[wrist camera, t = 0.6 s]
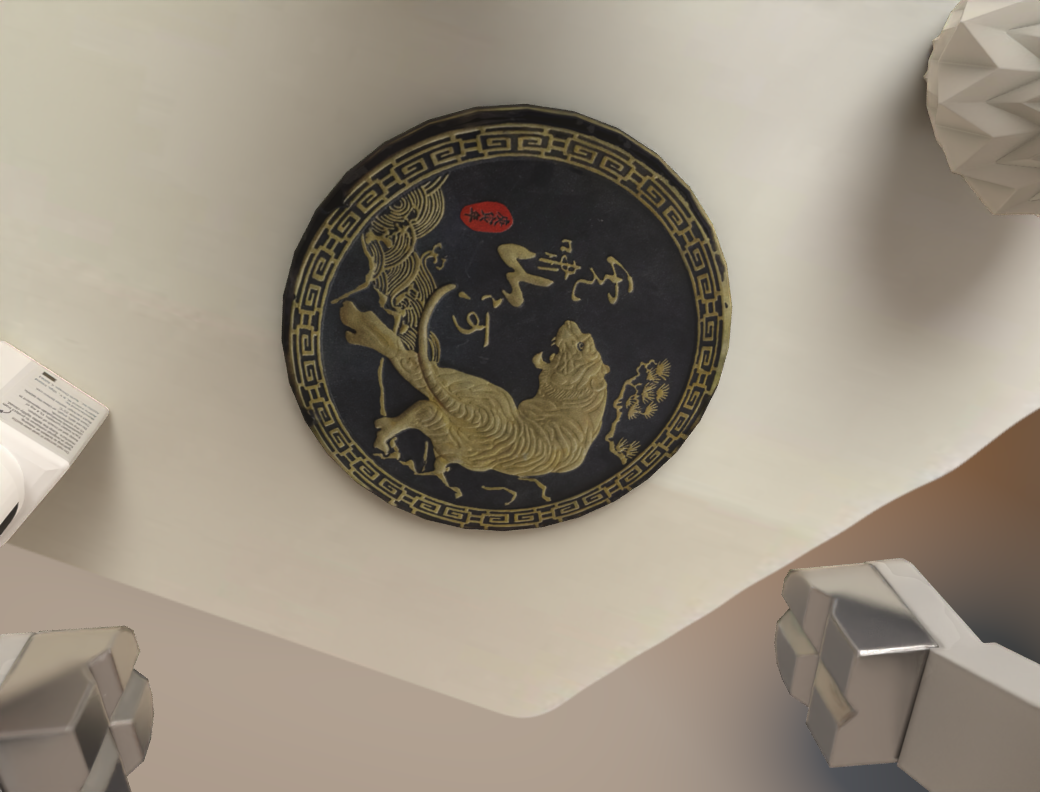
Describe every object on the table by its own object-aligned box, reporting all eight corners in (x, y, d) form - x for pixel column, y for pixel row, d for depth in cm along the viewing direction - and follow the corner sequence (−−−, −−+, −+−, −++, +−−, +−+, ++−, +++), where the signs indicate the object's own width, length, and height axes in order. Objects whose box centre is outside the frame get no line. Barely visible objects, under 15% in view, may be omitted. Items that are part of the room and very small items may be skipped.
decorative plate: (317, 45, 44) (806, 174, 51) (321, 43, 46) (793, 169, 52) (252, 501, 56) (653, 560, 63) (257, 486, 58) (647, 545, 64)
